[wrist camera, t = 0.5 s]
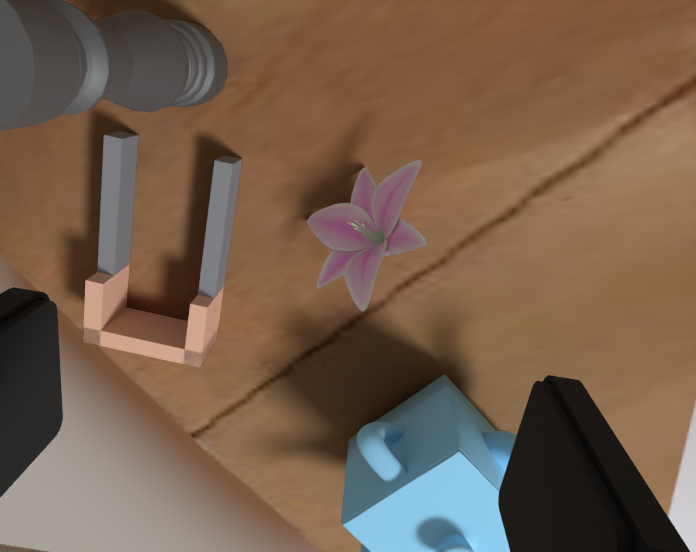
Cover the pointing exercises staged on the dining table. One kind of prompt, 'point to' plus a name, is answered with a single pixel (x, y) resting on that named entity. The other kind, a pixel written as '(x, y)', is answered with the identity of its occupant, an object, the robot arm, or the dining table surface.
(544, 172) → the dining table surface
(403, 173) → the lily
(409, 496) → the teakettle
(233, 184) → the guide channel
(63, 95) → the candle holder
